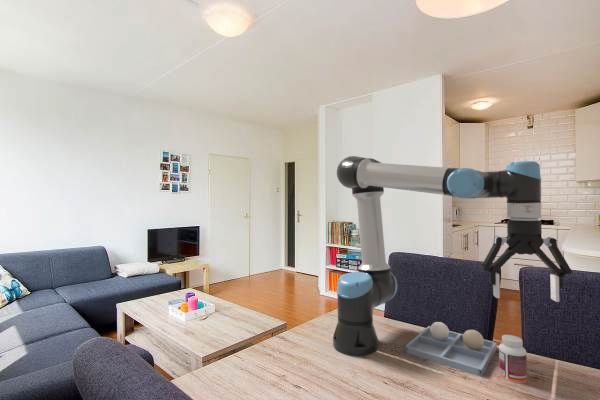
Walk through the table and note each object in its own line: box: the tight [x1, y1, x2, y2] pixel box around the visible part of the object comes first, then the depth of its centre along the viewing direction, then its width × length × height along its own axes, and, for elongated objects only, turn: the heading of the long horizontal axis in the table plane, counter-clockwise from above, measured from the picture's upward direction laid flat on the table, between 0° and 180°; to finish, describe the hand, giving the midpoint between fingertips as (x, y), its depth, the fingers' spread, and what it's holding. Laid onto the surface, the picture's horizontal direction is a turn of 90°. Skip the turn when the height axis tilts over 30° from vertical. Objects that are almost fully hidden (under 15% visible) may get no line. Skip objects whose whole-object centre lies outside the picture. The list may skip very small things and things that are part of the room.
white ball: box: [430, 321, 450, 341], centre depth 107 cm, size 6×6×6 cm
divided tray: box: [404, 325, 498, 378], centre depth 100 cm, size 21×21×3 cm
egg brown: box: [462, 329, 485, 350], centre depth 101 cm, size 6×6×6 cm
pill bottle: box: [498, 334, 528, 384], centre depth 85 cm, size 6×6×11 cm
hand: (525, 298), depth 84 cm, fingers open, 13 cm apart
